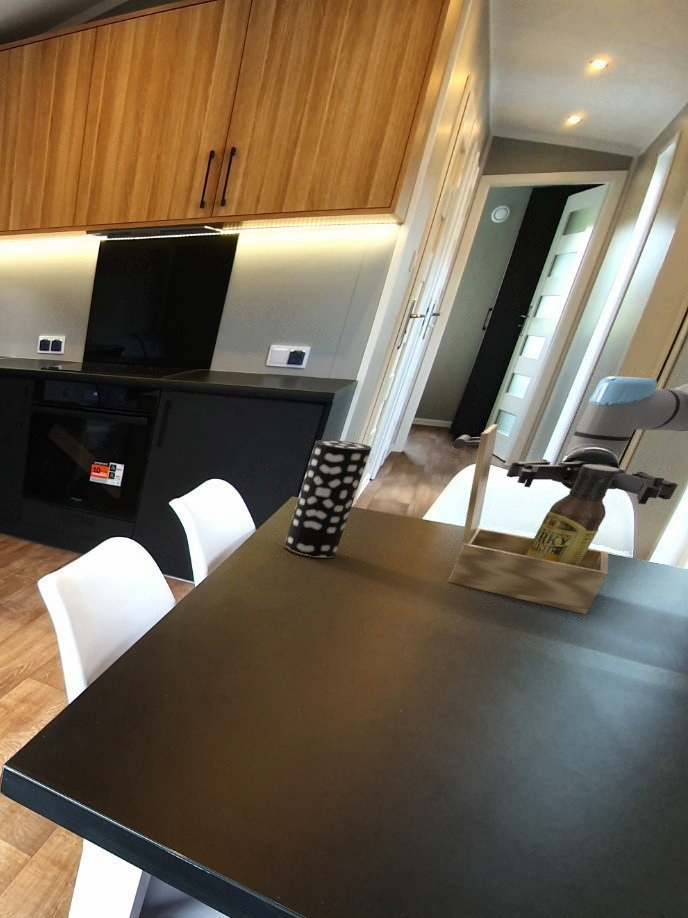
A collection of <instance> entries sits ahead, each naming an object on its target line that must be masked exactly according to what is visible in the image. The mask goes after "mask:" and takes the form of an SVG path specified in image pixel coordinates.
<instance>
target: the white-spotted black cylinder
mask: <svg viewBox="0 0 688 918" xmlns="http://www.w3.org/2000/svg"><path fill="white" fill-rule="evenodd" d="M371 451H372V447H371V445H368V444H363V443H358V442H353V441H345V440H333V439H332V440H331V439H320V440H316V441H315V443H314V445H313V450H312V452H311V455H310V458H309V462H308V466H307V469H306V472H305V476H304V477H303V482H302V484H301V485H302V486H301V489H300V492H299V495H298V498H297V501H296V505H295V508H294V511H293V514H292V518H291V522H290V525H289V528H288V531H287V535H286V538H285V541H284V544H285V545H286V546H287V547H288V548H290V549H292V550H295V551H297V552H300V553H303V554H308V555H311V556H320V557H330V556H334V555H335V556H336V554H337V550H338V547H339V544H340V541H341V538H342V536H343V532H344V530H345V527H346V524H347V521H348V519H349V515H350V512H351V511H352V510H351V509H352V507H353V504H354V500H355V498H356V494H357V491H358V489H359V487H360V483H361V480H362V477H363V474H364V472H365V469H366V466H367V462H368V460H369V457H370V454H371ZM335 556H334V557H335Z"/></svg>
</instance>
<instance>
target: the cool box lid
mask: <svg viewBox="0 0 688 918" xmlns="http://www.w3.org/2000/svg"><path fill="white" fill-rule="evenodd" d="M498 428H499V424H497V423H496V424H494V423H493V424H491V425H490V426H489V427H487V428H486V429H485V430H484V431H483V432H481V433H480V436H475V437H471V436H470V435H468V434H463V435H460V436H459V437H457V438H456V439H455V440H454V441H453V442H452V447H453V448H454V449H458V450H459V449H463V448H464V447H467V446H468V447H471V446H472V447H475V446H476V447H478V450H477V456H476V460H475V467H474V472H473V478H472V483H471V484H472V485H471V490H470V494H469V500H468V505H467V510H466V517H465V522H464V527H463V528H464V529H463V534H462V538H461V541H462V542H463V543H464V542H468V541H469V540H470V538H471V537H472V535H473V534H474V532H475V531H476V529H477V528H479V526H480V523H481V519H482V513H483V508H484V503H485V498H486V492H487V486H488V481H489V476H490V470H491V464H492V461H493V460H492V459H493V455H494V449H495V442H496V437H497V433H498Z"/></svg>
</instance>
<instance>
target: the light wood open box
mask: <svg viewBox="0 0 688 918" xmlns="http://www.w3.org/2000/svg"><path fill="white" fill-rule="evenodd" d="M534 538H535V537H534ZM534 538H533V537H529V536H523V535H518V534H512V533H507V532H502V531H496V530H490V529H486V528H482V527H481V528H480V527H478V528H477V529H476V531H475V532H474V534H473V535H472V537H471V538H470V540H469V541H468V542H465V543H463V546H462V548H461V551H460V553H459V555H458V557H457V560H456V562H455V565H454V567H453V569H452V572H451V574H450V576H449V578H448V580H447V582H448V583H451V584H454V585H458V586H462V587H468V588H472V589H476V590H480V591H485V592H487V593H488V592H489V593H492V594H498V595H501V596H506V597H510V598H515V599H519V600H523V601H526V602H531V603H535V604H540V605H544V606H548V607H552V608H557V609H560V610H565V611H570V612H574V613H578V614H582V615H586V614H587V613H588V610H589V609H590V608H591V606H592V604H593V602H594V600H595V598H596V596H597V594H598V593H599V591H600V589H601V587H602V585H603V583H604V581H605V580H606V578H607V576H608V574H609V552H608V551H604V550H598V549H592V548H588V549H587V551H586V553H585V555H584V556H583V558H582V560H581V562H580V564H579V565H578V566H575V565H570V564H565V563H560V562H555V561H550V560H545V559H540V558H535V557H530V556H525V555H526V553H527V551H528V549H529V547H530V545H531V543H532V542H533V540H534Z"/></svg>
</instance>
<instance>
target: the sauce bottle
mask: <svg viewBox="0 0 688 918" xmlns="http://www.w3.org/2000/svg"><path fill="white" fill-rule="evenodd" d="M619 469H620V468H619ZM619 469H617V468H613V467H608V466H602V465H593V464H585V465H583V466H582V467H581V469H580V470H579V473H578V477H577V480H576V481H575V483H574V485H573V487H572V489H569V493H568V495H565V496H564V497H562V498H561V499H558V500H557V501H556V502H554V503H553V505H552V506H551V508H550V509H549V511H548V512H547V513H546V515H545V517H544V518H543V519H542V523H541V524H540V527H539V529H538V530H537V532H536V534H535V536H534V540H533V542H532V543H531V545H530V547H529V549H528V551H527V553H526V555H525V556H530V557H535V558H540V559H545V560H550V561H555V562H560V563H565V564H570V565H575V566H578V565H579V564H580V562H581V560H582V558H583V556H584V555H585V553H586V551H587V549H589V547H591V544H592V542H593V541H594V539H595V537H596V535H597V533H598V532H599V528H600V526H601V525H602V522H603V521H604V519H605V517H606V514H607V512H606V506H605V505H604V501H603V500H604V498H605V497H606V495H607V491H608V490H609V489H608V488H609V486H610V484H611V483H612V481H613V480H614V479H615V478H616V477H617V475H618V473H619Z"/></svg>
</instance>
